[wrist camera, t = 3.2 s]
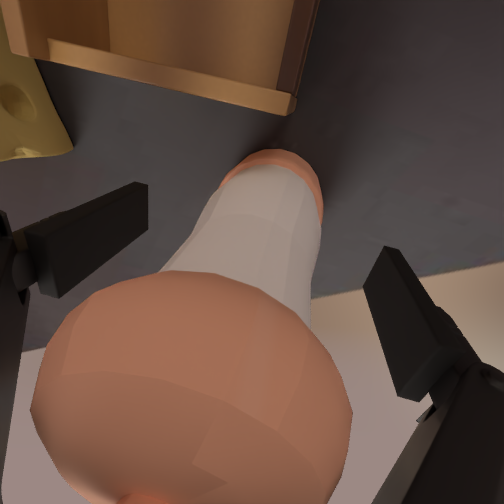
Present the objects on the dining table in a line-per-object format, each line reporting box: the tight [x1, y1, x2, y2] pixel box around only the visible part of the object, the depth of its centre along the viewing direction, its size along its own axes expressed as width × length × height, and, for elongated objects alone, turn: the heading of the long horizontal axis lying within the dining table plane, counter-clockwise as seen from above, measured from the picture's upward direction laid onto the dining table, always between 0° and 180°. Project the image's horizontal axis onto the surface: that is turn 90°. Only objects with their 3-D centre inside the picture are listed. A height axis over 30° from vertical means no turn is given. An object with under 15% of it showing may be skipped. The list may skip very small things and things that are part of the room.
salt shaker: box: [30, 149, 353, 504], centre depth 12 cm, size 7×7×19 cm
